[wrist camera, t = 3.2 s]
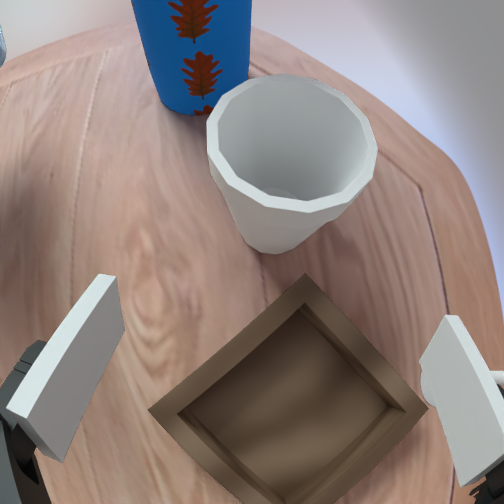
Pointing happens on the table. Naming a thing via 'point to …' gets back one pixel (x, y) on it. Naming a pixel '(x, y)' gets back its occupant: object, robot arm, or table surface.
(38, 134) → the table surface
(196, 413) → the square wooden tray
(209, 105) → the thermos
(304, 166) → the foam cup
